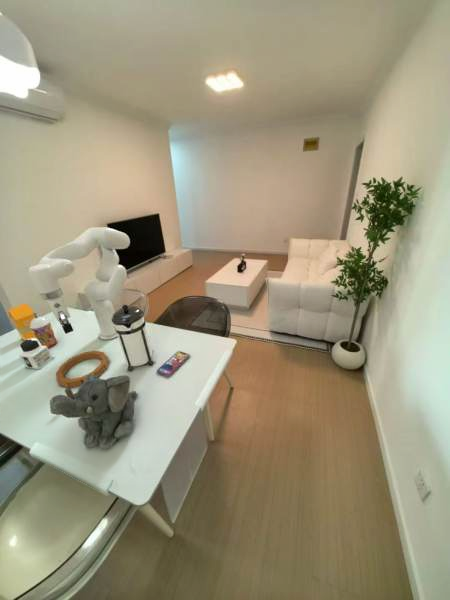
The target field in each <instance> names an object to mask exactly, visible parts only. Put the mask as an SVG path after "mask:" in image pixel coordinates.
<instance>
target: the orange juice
mask: <svg viewBox="0 0 450 600" xmlns="http://www.w3.org/2000/svg"><path fill="white" fill-rule="evenodd" d="M7 312H8V315H9V318H10V320H11V322H12V324H13V325H14V327H15V329H16V331H17V333H18V334H19V336H20V337H21V340H23V341H25V340H28V339H31V338H36V339H37V337H36V336H35V334H34V333H33V331H32V330H31V328H30V323H31V321H32V320H33V319H34V318H36V317H35V315H34V313H35V312H34V311H33V310H32V308H31V306H30V305H29V303H27V302H26V303H23V304H20V305H17V306H15V307H12V308H9V309H7Z"/></svg>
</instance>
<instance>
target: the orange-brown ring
mask: <svg viewBox="0 0 450 600" xmlns="http://www.w3.org/2000/svg"><path fill="white" fill-rule="evenodd" d="M90 359H98V360H101V361H100V364H99V365H98V366H97V367H96V368H94V369H93V370H92V371H90V372H89V373H87V374H85V375H83V376H79V377H78V376H77V377H73V378H69V377H65V375H66V374H67V372H68V371H69V370H70V369H71V368H72V367H73V366H75V365H77V364H79V363H80V362H83V361H85V360H90ZM109 363H110V361H109V358H108V356H107V355H106V353H105V352H104V351H101V350H100V351H99V350H89V351H84V352H80V353H79V354H76V355H74V356H72V357H70V358H68V359H67V360H66V361H64V362H63V363H62V364H61V365H60V366H59V367H58V369H57V371H56V372H55V376H56V379H57V382H58V384H59V386H61V387H64V388H71V389H72V388H75V387H76V388H77V387H80V386H81V385H82V384H83V383H84V380H85V378H86V376H88V375H89V374H95V375H97V376H98V377H99V378H100V376H102V375H103V374H104V372H105V371H107V369H108V366H109Z"/></svg>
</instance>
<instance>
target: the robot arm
mask: <svg viewBox="0 0 450 600" xmlns="http://www.w3.org/2000/svg"><path fill="white" fill-rule="evenodd" d="M130 245H131V239H130V237H129V235H128V234H126V233H125V232H122V231H119V230H117V229H114V228H110V227H107V226H98V227H97V226H96V227H95V226H94V227H93V226H92V227H89V228H87V229H85V230H84V231H83V232H82V233H81V234H80V235H78V236H77V237H76V238H74V240H71V242H68V243H66V244H64V245H62V246H60V247H57V248H55V249H52V250H51V251H50V252H48V253H47V254H46V255H44V256H43V257H42V258H40V259H39V261H38V262H37V264H36V265H32V266H30V267H29V268H28V274H29V276H30V279H31V280H32V282H33V284H34V286H35V288H36V290H37V292H38V294H39V296H40V298H41V300H42V301H43V302H47V304H48V306H49V308H50V310H51V312H52V314H53V316H54V317H55V319H56V320H57V321H58V322H59V323H60V325H61V328H62V329H63V332H64V334H69V333H72V332H74V328H73V326H72V323H71V322H70V320H69V318H71V314H70V312H69V309H68V307H67V305H66V303H65V301H64V298H63V296H64V292H63V290H62V287H61V286H60V282H59V281H58V280H59V279H62V278H67V277H70V276H71V275H72V274H73V273H74V272H75V270H76V267H75V266H76V265H75V264H74V263H73V261H75V260H76V261H77V260H79V259H83V258H86V257H88V256H89V255H90V254H91V253H92V252H94V251H95V250H96V249H97V248H98V247H99V246H100V249H101V252H102V257H101V259H100V262H99V264H98V266H97V268H96V271H95V275H94V276H95V278H96V280H98V281H90V282H88V283H87V284H85V286H84V289H83V291H84V292H83V293H84V295H85V297H86V299H87V300H88V302H89V304H90V305H91V306H90V307H91V308H92V311H93V313H94V316H95V319H96V323H97V324H98V327H99V330H100V332H99V333H98V336H99V338H100V339H101V340H106V341H107V340H112V339H116V338H118V335H117V333H116V331H115V328H114V324H113V323H112V320H111V319H112V317H113V314H114V313H115V312H116V311H115V309H114V305H113V303H112V301H117V299H119V297H120V296H121V293H122V291H123V288H124V285H125V283H126V281H127V278H128V276H127V275H128V273H127V269H126V267H125V266H123V265H122V264H119V263H120V257H119V255H118V253H117V250H124V249H128V247H129V246H130Z"/></svg>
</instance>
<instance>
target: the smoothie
mask: <svg viewBox="0 0 450 600" xmlns="http://www.w3.org/2000/svg"><path fill="white" fill-rule="evenodd" d="M34 315H35V317H36V318H34V319H33V320H32V321H31V323H30V328H31V330H32V331H33V333H34V334H35V336H36V337H37V338H36V339H38V341H39V343H40V345H41V346H47V348H48V349H49V348H52V347H54V346H56V344H57V341H58V340H57V336H56V335H55V332H54V329H53V327H52V325H51V321H50V320H49V319H48V318H46V317H43V316H38V315H37V313H36V312H34Z"/></svg>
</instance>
